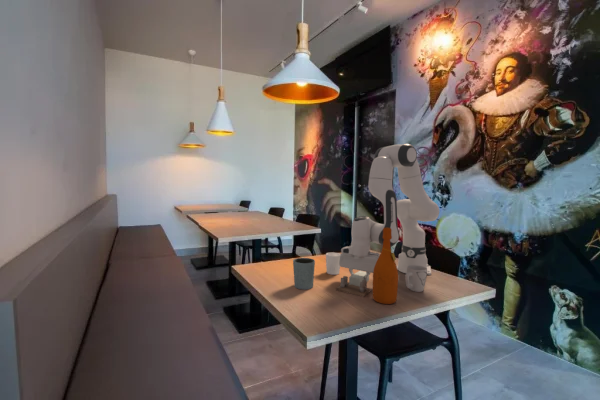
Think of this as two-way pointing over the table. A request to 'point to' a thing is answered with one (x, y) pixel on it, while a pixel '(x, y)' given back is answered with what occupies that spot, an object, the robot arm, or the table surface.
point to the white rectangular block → (357, 278)
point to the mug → (416, 277)
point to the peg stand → (353, 287)
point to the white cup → (333, 263)
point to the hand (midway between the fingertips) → (359, 279)
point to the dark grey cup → (303, 273)
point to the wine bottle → (385, 273)
